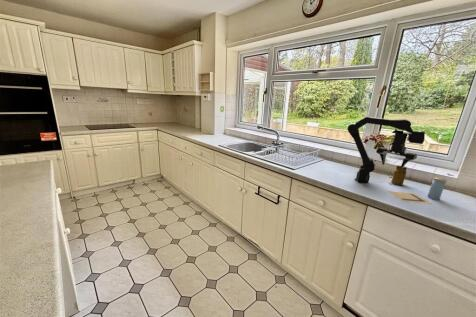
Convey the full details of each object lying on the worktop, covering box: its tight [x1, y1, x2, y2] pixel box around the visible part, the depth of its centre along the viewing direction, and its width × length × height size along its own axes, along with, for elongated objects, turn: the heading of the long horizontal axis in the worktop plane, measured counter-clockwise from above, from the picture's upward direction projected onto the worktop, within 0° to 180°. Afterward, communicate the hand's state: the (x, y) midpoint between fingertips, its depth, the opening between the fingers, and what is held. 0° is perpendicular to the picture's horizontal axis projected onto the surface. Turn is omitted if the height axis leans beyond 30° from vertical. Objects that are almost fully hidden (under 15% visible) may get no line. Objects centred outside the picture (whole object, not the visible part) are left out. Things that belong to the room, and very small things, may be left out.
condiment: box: [389, 165, 408, 187], centre depth 131 cm, size 7×8×12 cm
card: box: [388, 190, 433, 205], centre depth 114 cm, size 15×13×1 cm
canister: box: [426, 176, 447, 201], centre depth 113 cm, size 5×5×12 cm
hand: (391, 166), depth 124 cm, fingers open, 9 cm apart
